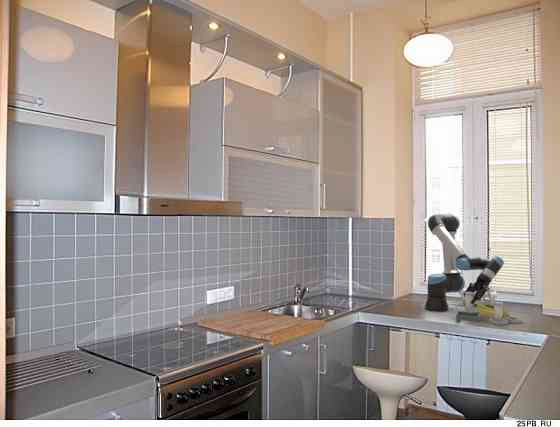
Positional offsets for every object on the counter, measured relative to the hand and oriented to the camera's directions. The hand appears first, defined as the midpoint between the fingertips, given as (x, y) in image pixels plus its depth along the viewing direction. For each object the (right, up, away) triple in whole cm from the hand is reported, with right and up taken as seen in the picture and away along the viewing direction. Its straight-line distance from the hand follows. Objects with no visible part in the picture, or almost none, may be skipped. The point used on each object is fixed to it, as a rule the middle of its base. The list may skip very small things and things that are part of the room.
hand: (464, 306), depth 270 cm
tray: (+3, -9, +2) cm, 10 cm away
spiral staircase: (+29, -10, +50) cm, 58 cm away
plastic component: (+23, -10, +15) cm, 29 cm away
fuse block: (+20, -9, -9) cm, 24 cm away
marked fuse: (+3, -4, +1) cm, 5 cm away
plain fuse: (+15, -7, -11) cm, 20 cm away
